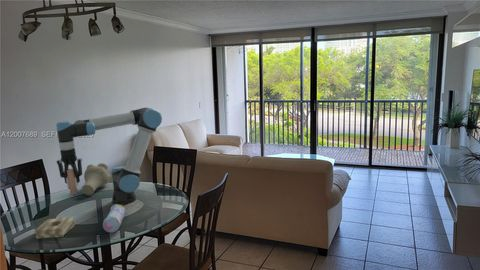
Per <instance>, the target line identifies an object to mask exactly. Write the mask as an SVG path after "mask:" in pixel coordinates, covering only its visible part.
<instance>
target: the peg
mask: <svg viewBox="0 0 480 270" xmlns="http://www.w3.org/2000/svg"><path fill="white" fill-rule="evenodd" d="M67 175H68V181H69V188H70V189H69V193H70V195H75V194H78V192H79V189H76V185H75V179H74V178H75V177H76V176H75V174H74V171H73V168H72V167H71V168H68V170H67Z"/></svg>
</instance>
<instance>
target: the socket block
mask: <svg viewBox="0 0 480 270" xmlns="http://www.w3.org/2000/svg"><path fill="white" fill-rule="evenodd" d="M74 226H76V223H75V218H74V217H62V218H61V217H59V218H49V219H46V220H45V221H44V222H43V223H42V224H41V225H39V226H38V227H37V228H36V229H35V230H34V234H35V238H36V239H47V238H49V239H51V238H63V237H65V236H66V235H67V234H68V233H69V232H70V231H71V230H72V229H73V228H74ZM70 229H71V230H70ZM69 230H70V231H69ZM68 231H69V232H68ZM67 232H68V233H67ZM66 233H67V234H66ZM65 234H66V235H65ZM64 235H65V236H64Z"/></svg>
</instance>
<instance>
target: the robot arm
mask: <svg viewBox="0 0 480 270" xmlns="http://www.w3.org/2000/svg"><path fill="white" fill-rule="evenodd" d="M162 122H163V117H162V113H161V112H160V111H159V110H157V109H155V108H153V107H152V108H149V107H141V108H137V109H131V110H130V111H129V112H125V113H119V114H113V115H107V116H106V115H105V116H102V117H101V116H100V117H95V118H90V119H89V118H88V119H83V120H81V119H79V120H76V121H75V122H74V123H72V122H71V121H70V120H63V121H62V120H61V121H58V122H57V123H56V124H55V125H56V134H57V139H58V140H57V141H58V146H59V150H60V151H59V152H60V156H61V158H60V159H58V160H56V164H57V166H58V170H59V176H60V178H63V179H64V183H65V184H66V185H67V186H66V187H67V190H70V188H69V181H68V175H67V170H68V169H69V166H71V169H72V168H73V171H74V174H75V176H76V177H75V178H74V179H75V185H76V189H78V188H80V182H81V179H80V177H81V176H82V175H83V167H82V165H83V164H82V161H83V159H82V158H78V157H77V155H76V154H77V153H76V148H75V141H74V138H77V137H78V138H79V137H80V138H81V137H86V136H87V137H88V136H93V135H95V134H96V131H100V130H106V129H111V128H116V127H123V126H127V125H132V126H136V127H137V129H138V131H137V134H136V136H135V138H134V142H133V143H132V147H131V150H130V153H129V156H128V159H127V161H126V164H125V165H120V166H117V167H113V168H111V179H112V185H113V194H112V198H111V202H112V204H113V205H115V204H119V205H126V204H131V203H133V202H134V201H136V200H137V195H136V193H135V191H136V190H138V188H139V186H140V184H141V183H140V176H141V175H142V174H141V173H142V172H141V170H140V168H141V166H142V163H143V160H144V158H145V155H146V152H147V149H148V147H149V144H150V141H151V138H152V134H154V133H156V132H157V131H156V130H157V128H159V126H161V124H162ZM76 163H77V164H76ZM78 190H79V189H78Z"/></svg>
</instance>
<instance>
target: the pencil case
mask: <svg viewBox="0 0 480 270" xmlns="http://www.w3.org/2000/svg"><path fill="white" fill-rule="evenodd" d="M109 209H110V210H109V212H108V215H107V217H106V218H104V220H103V221H102V222H103V223H102V227H103V230H104V231H106V232H107V233H111V234H112V233H113V234H114V233H115V232H117V231H118V230H119V228H120V227H121V224H122V221H123V219H124V217H125V216H126V208H125V207H124V206H123V204H113V205H111V207H110V208H109Z"/></svg>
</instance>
